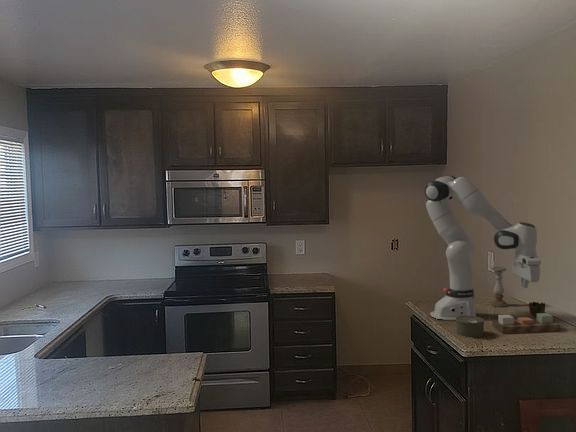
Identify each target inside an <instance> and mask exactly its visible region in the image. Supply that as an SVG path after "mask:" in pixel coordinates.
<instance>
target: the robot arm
mask: <svg viewBox="0 0 576 432" xmlns="http://www.w3.org/2000/svg"><path fill="white" fill-rule="evenodd" d="M423 193H424V195H425V197H426V199H427V201H426V202H425V208H426V211H427V214H428V216H429V218H430V220H431V222H432V224H433V226H434V228H435V229H436V232H437V233H438V235H439V236H440V238H442V239H443V240H444V242H445V243H446V244H447V248H446V250H445V256H446V259H447V265H448V271H449V287H448V288H446V287H444V288H443V289H442V291H443V292H444V293H445V296H444V297H442V298H441V299H440V300H438V301H437V302H436V303H435V305H434V311H431V312H429V315H431V316H432V317H434V318H436V319H435V320H437V319H443V320H442V321H456V318H457V317H460V316H476V317H477V314H476V310H475V304H474V303H475V302H474V298H475V292H474V290H475V289H474V287H473V286H474V285H473V284H474V283H473V278H474V276H473V272H472V271H473V270H472V266H471V258H472V257H473V256H474V254H475V249H476V248H475V243H474V242H473V241H472V240H471V239H470V237H469V235H468V234H467V233H466V231H465V230H464V229H463V227H461V225H460V223H459V221H458V219H457V218H456V216H455V215H454V213H453V210H452V209H451V207H450V205H449V200H452V199H453V198H454V199H455V200H456V201H457V202H458V203H459V204H460V205H461V206H462V208H463V209H464V210H465V211H467V212H468V213H470V214H471V215H473V216H478V217H481V218H483V219H485V220H486V221H488V222H489V223H490V225H491V226H492V227H493V228H494V229H495V230H496V233H495V234H494V236H493V243H494V245H495V246H496V247H497V248H499V249H501V250H506V251H507V250H510V249H511V250H512V249H514V250H515V252H514V254H515V255H514V258H513V259H512V264H511V273H512V274H513V275H515V276H516V277H517V276H518V277H519V281H520V286H521V287H522V288H523V289H527V288H528V287H529V286H528V285H529V283H537V282H539V280H540V276H541V267H540V265H541V264H542V260H541V259H540V258H539V256H538V255H537V249H536V248H537V247H536V246H537V243H538V236H537V235H538V232H537V228H536V226H535V225H534V224H532V223H529V222H523V221H520V222H518V223H517V224H515V225H513V224H511V223H509V222H508V221H507V220H506V219H505V218H504V217H503V215H501V214H500V213H499V212H498V210H496V208H494V206H493V205H492V204H491V203H490V201H489V200H488V199H487V197H486V196H485V195H484V193H483V192H482V191H481V190H480V189H479V188H478V186H477V185H475V184H474V183H473V182H472V181H470V179H468V178H467V177H465V176H460V177H456V176H454V175H445V176H440V177H437V178H436V179H433V180H431V181H429V182H428V183H427V184H426V185H425V187H424V192H423ZM431 316H430V317H431ZM432 317H431V318H432ZM434 318H433V319H434Z"/></svg>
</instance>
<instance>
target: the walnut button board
mask: <svg viewBox="0 0 576 432" xmlns="http://www.w3.org/2000/svg"><path fill="white" fill-rule="evenodd" d="M531 319H532V320H533V324H521V323H519V322H518V320H517V318H514V325H502V324H500V323H498V319H492V320H491V324H492V325H491V326H492V327H493V328H494V329H496V330H497V331H499V332H500V333H502V335H505V334H507V335H509V334H525V333H528V334H529V333H549V332H551V333H552V332H553V333H554V332H561V324H560V323H557V322H555V321H554V320H553V323H540V322H538V321H537V318H533V317H532V318H531Z"/></svg>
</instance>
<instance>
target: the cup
mask: <svg viewBox="0 0 576 432" xmlns="http://www.w3.org/2000/svg"><path fill="white" fill-rule="evenodd" d="M528 308H529V313H530V315H531V316H532V318H537V313H546V303H545V302H541V303H540V302H539V301H537V302H536V301H533V302H532V301H531V302H528Z"/></svg>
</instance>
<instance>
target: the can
mask: <svg viewBox="0 0 576 432" xmlns="http://www.w3.org/2000/svg"><path fill="white" fill-rule="evenodd" d="M455 321H456V335H457V334H458V335H457V336H459V335H461V336H460V337H462V336H465V337H464V338H467V337H478V338H482V337H483V336H484V335H485V333H484V332H485V330H484V325H485V324H484V322H485V319H484V318H482V317H480V316H477V315H476V316H460V317H457V318H456V320H455Z"/></svg>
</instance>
